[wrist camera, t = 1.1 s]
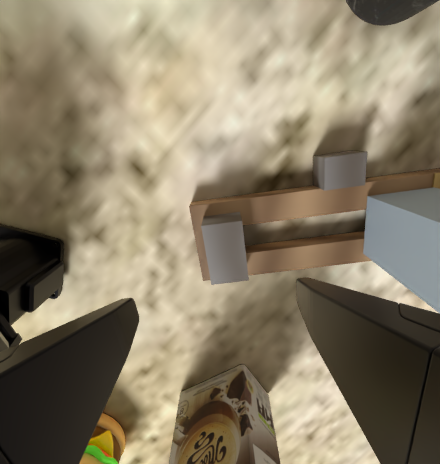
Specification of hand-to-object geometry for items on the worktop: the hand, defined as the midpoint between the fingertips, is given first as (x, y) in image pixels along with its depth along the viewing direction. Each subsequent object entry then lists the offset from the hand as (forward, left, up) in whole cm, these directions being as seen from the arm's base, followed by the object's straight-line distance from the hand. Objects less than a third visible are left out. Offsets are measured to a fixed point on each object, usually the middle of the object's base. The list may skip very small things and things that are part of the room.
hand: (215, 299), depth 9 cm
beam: (+9, +3, -13) cm, 16 cm away
